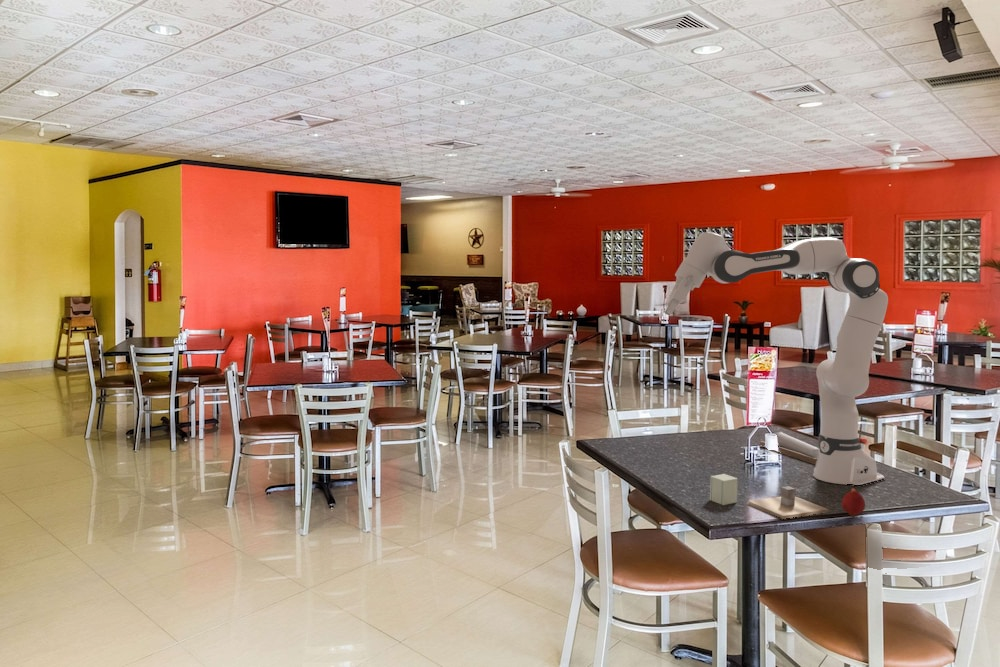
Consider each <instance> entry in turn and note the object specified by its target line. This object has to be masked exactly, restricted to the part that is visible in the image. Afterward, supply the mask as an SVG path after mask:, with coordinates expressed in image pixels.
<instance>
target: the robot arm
mask: <svg viewBox="0 0 1000 667" xmlns="http://www.w3.org/2000/svg"><path fill="white" fill-rule="evenodd" d="M773 271H775V272H776V271H779V272H784V273H786V274H788V275H808V274H809V275H810V274H815V273H823V272H824V275H825V277H826V280H827V283H828V284H829V285H830V287H831V288H832V289H834V290H835V291H838V292H841V293H846V294H848V297H849V305H848V307H847V311H846V313H845V315H844V317H843V321H842V323H841V325H840V329H839V331H838V332H837V333H838V334H837V336H836V350H835V356H834V357H831V358H827V359H825V360H823V361H821V362H820V363H819V364H818V365H817V367H816V370H815V371H816V374H815V375H816V378H817V383H818V394H819V402H820V415H821V416H820V432H819V434H818V442H817V445H818V448H819V449H818V454H817V460H816V464H815V467H814V468H813V474H812V476H813V477H814V478H815V479H817V480H820V481H822V482H825V483H831V484H836V485H837V484H838V485H847V484H854V485H860V484H864V483H868V482H871V481H875V480H879V479H882V478H885V476H884V475H883V474H881V473H879V472H878V471H877V470H878V469H877V462H876V460H875V459H874V458H873V457H872V456H871V455H870V454H868V452H866V451H865V450H864V449H862V445H867V443H868V442H869V441H868V439H867V438H865V437H862V436H861V437H858V433H859V431H858V430H859V415H860V414H859V410H858V408H857V402H856V398H858V397H859V396H862V395H863V394H865V393H866V391H867V390H868V388H869V387H870V386H869V385H870V379H869V378H870V377H869V373H870V366H871V362H872V361H871V360H872V355H873V350H874V348H875V344H876V341H877V340H878V339H877V338H878V336H879V334H880V332H881V328H882V326H883V323H884V321H885V317H886V312H887V308H888V305H889V297H888V293H887V292H885V291H884V290H883V289H881V283H880V272H879V268H878V267H877V265H876V264H875V263H874V262H872V261H870V260H868V259H865V258H856V257H855V258H854V257H852V258H851V257H850V256H849V255H848V254H847V249H846V246H845V243H844V242H843V241H842V240H841V239H839V238H836V237H815V238H813V237H811V238H806V239H801V240H796V241H792V242H788V243H787V244H784V245H783V246H782V247H780V248H777V249H774V250H767V251H759V252H752V253H747V252H743V251H741V250H736V249H730V247H729V246H728V243H727V241H726V239H725V237H724V236H722V235H721V234H720V233H715V232H712V231H704V232H702V233H700V234H699V235H698V236H697V237H696V239H695V240H694V242H693V243H692V245H691V246H690V248H689V249H688V252H687V255H686V257H685V258H684V259H683V261H682V262H681V264H679V267H678V268H677V269H676V272H675V274H674V276H675V277H676V278H675V284H674V286H673V288H672V291H671V293H670V295H669V297H668V301H669V303H668V305H667V307H666V309H665V311H664V314H665V315H666V316H669V315H672V314H673V313H674V311H675V310H676V308H677V307H678V305H679V304H681V303H683V302H684V301H685V299H686V298H687V296H688V295H689V292H690V291H694V289H695V288H698V289H699V288H700V287H701V286H702V284H703V282H704V280H705V279H706V276H707V275H709V276H710V277H711V278H712V279H713V280H714V281H715V282H718V283H720V284H732V283H737V282H741V281H742V280H743V279H745V278H746V277H748V276H750V275H753V274H759V273H766V272H767V273H768V272H773ZM854 485H853V486H854Z"/></svg>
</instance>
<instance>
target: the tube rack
mask: <svg viewBox="0 0 1000 667" xmlns="http://www.w3.org/2000/svg"><path fill="white" fill-rule="evenodd" d="M765 442H766V441H764V440H760V441H759V446H760V445H762V446H764V445H765ZM779 450H780V452H781V453H780V454H782V455H785V456H788V457H791V458H793V459H794V458H795V459H797V460H800V461H803V462H805V463H810V464H813V465H816V460H817V458H814V457H811V456H808V455H804V454H801V453H798V452H795V451H792V450H789V449H787V448H785V447H783V446H779Z"/></svg>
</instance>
